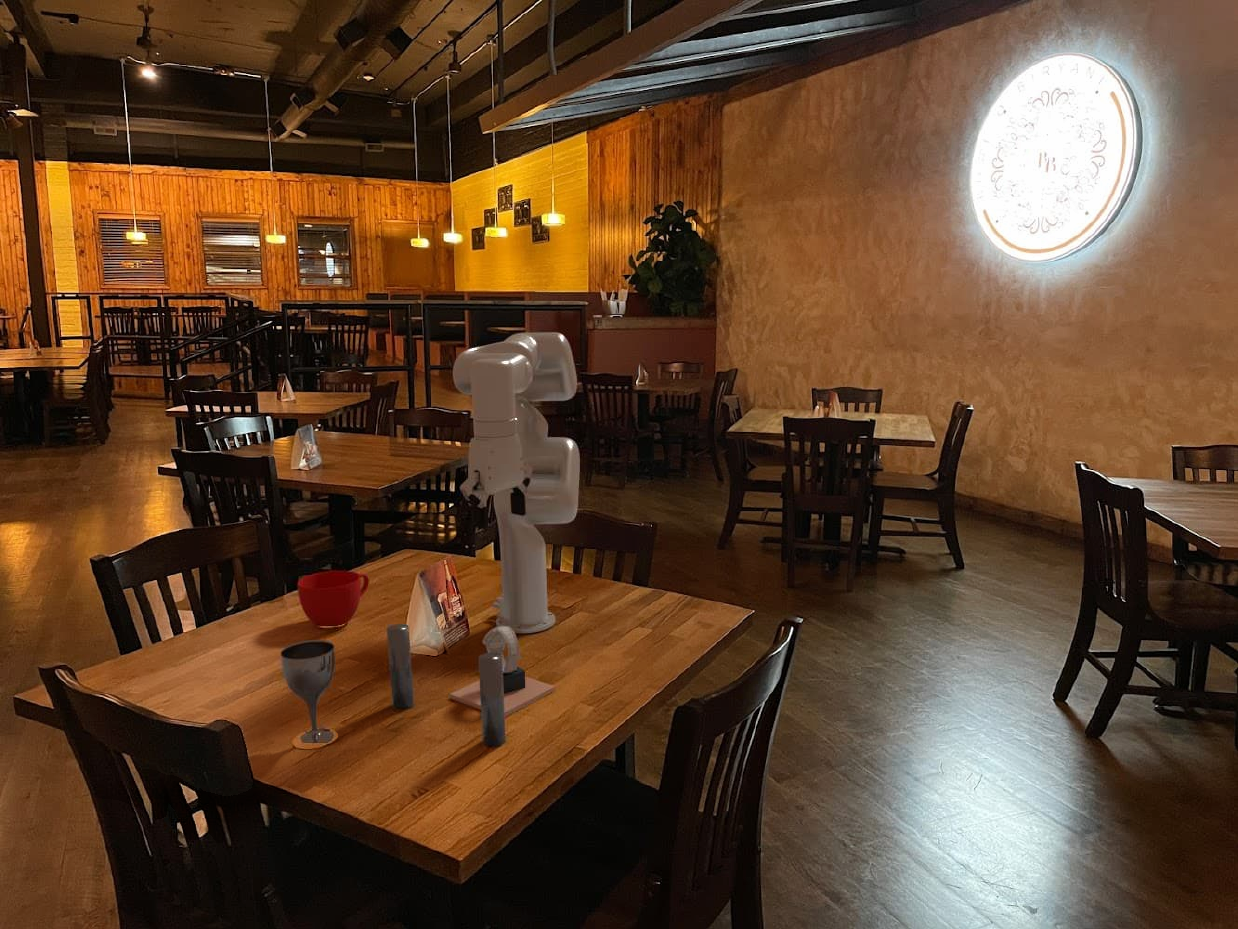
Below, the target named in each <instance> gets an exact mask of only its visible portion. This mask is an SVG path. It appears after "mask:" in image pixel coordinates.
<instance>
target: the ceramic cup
mask: <svg viewBox="0 0 1238 929" xmlns="http://www.w3.org/2000/svg"><path fill="white" fill-rule="evenodd" d="M361 578H363V584H362V583H361ZM369 582H370V578H369V576H368V575H367V574H365V573H363V572H362V573H357V572H354V571H352V570H351V571H350V570H328V571H323V572H322V571H321V572H317V573H313V574H309V575H307V576H303V577H302V578H301V579H298V582H297V593H298V598H299V602H300V606H301V608H302V610H303V613H304V615H305V616H306V617H307V618H308V619H309V621H310V622H311V623H312V624H314V625H315V626H316V625H317V626H338V625H342V624H345V623H347V622H348V621H350V620H351V619H352V618H353V617H354V615H355V613H356V612H357V610H358V607H359V604H360V601H361V600H360V599H361V597H362V596H363V595H364V594H365V593H366V591H367V589H368V588H369ZM361 584H362V586H361ZM348 623H349V622H348ZM348 623H347V624H348ZM317 626H316V627H317Z"/></svg>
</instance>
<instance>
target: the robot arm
mask: <svg viewBox="0 0 1238 929" xmlns="http://www.w3.org/2000/svg"><path fill="white" fill-rule="evenodd" d="M571 348H572V347H571V345H570V343H569V341H568V339H567V338H566V337H565V335H564V334H562V333H560V332H556V331H555V332H554V331H553V332H552V331H550V332H547V331H546V332H518V333H513V334H511V335H510V336H508V337H507V338H506V339H505V340H503V341H499V342H494V343H491V344H490V343H489V344H486V345H481V346H476V347H472V348H469V349H465V350H464V351H462V352H461V353H460V354H459V355H458V356H457V357H456V359H455V361H454V364H453V367H452V368H453V369H452V379H453V383H454V385H455V388H456V389H457V390H458V392H460V393H461V394H464V395H469V396H470V395H471V401H472V402H471V403H472V418H473V420H472V421H473V437H472V438H471V439H470V442H469V450H468V461H467V462H468V465H467V467H468V468H467V470H468V472H467V473H468V475H467V477H468V478H467V479H466V480H465V481H464V482H462V484H460V486H459V489H460V492H461V493H462V495H463V499H464V500H465V501H466V502H467V503H468V506H470V507H471V510H472V525H473V527H475V528H479V529H482V530H486V529H488V528H489V518H488V507H487V506H486V503H487V501H488V498H489V497H490V495H493V505H494V511H495V516H496V522H497V527H498V533H499V550H500V567H501V568H500V570H501V575H500V576H501V589H502V591H501V594H502V597H501V596H498V597H497V598H496V600H495V601H494V602H493V603H492V609H493V610H494V609H495V610H499V615H498V616H497V617H496V620H495V623H496V624H495V626H496V627H499V626H506V627H507V626H509V627H510V628H511V629H512V630H513V631H514V633H515V634H532V633H538V632H542V631H545V630H547V629H551V627H553V626H554V625H555V623H556V616H555V614H554V613H552V612H551V611H548V589H547V588H548V585H547V582H548V581H547V557H546V556H547V554H546V553H547V552H546V543H545V539H544V537H543V536H542V534H541V533H540V531H539V530H538V529H537V528H536V527H535V525H558V524H559V525H560V524H562V525H563V524H564V525H565V524H569V523H571V522H573V521H574V519H575V518H576V516H577V513H578V507H579V493H580V492H579V489H580V488H579V486H580V474H581V472H580V471H581V468H580V467H581V466H580V465H581V464H580V463H581V460H580V457H581V456H580V451H579V447H578V445H577V442H576V441H575V440H573V439H571V438H569V437H564V436H562V437H561V436H560V437H557V436H556V437H553V436H549V437H548V431H549V424H548V422H547V420H546V417H544V416H543V413H541V412H540V411H539V410H538V409H537V408H536V407H534V406H533V405H532V404H531V403H529V402H551V401H552V402H557V401H558V402H562V401H563V402H564V401H568V400H570V399H572V398H573V397H574V396H575V395H576V392H577V388H578V379H577V378H578V377H577V372H576V366H575V362H574V356H573V351H572V349H571Z"/></svg>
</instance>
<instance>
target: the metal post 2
mask: <svg viewBox="0 0 1238 929" xmlns="http://www.w3.org/2000/svg"><path fill="white" fill-rule="evenodd" d="M501 654H502V653H501ZM501 654H499V653H488V652H485V653H482V654H480V655H479V656H478V657H477V658H478V673H479V674H478V676H479V677H478V679H479V680H480V699H481V710H480V716H481V732H482V733H481V738H482V744H483V746H485V747H488V748H495V747H496V748H497V747H501V746H503V745H504V744H505V743H506V742H507V740H506V739H507V738H506V737H507V736H506V735H507V734H506V717H505V711H504V689H503V667H502V659H503V658H502V655H501ZM502 744H503V745H502Z"/></svg>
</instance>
